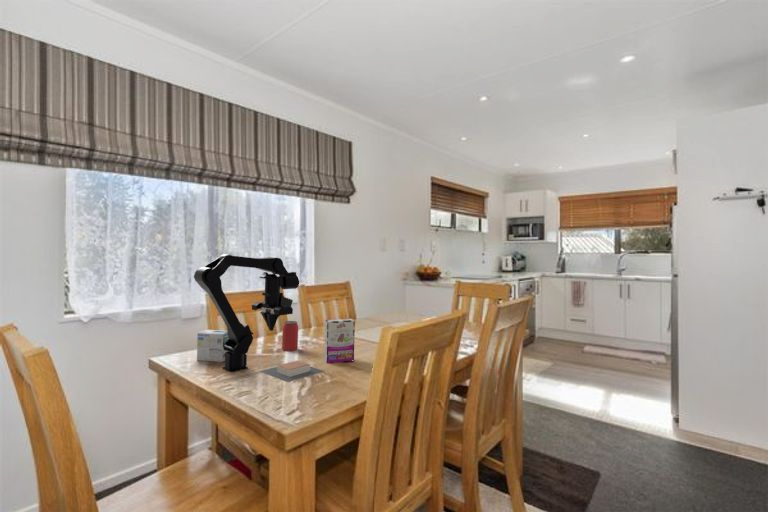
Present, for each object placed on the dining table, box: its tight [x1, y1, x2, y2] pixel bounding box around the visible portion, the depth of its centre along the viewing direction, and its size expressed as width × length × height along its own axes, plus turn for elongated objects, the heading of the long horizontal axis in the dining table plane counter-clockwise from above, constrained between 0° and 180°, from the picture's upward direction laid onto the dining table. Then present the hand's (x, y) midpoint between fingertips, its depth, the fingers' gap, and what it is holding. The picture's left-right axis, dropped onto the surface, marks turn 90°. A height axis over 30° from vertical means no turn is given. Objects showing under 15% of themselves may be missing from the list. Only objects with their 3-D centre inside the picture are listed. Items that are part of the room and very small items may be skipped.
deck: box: [276, 359, 311, 377], centre depth 134 cm, size 9×2×7 cm
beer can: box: [281, 320, 299, 352], centre depth 164 cm, size 7×7×12 cm
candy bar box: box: [323, 318, 356, 364], centre depth 150 cm, size 11×5×16 cm, turn 112°
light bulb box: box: [196, 329, 229, 363], centre depth 147 cm, size 11×7×11 cm, turn 84°
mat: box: [259, 366, 325, 383], centre depth 135 cm, size 16×16×1 cm
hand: (271, 330), depth 146 cm, fingers closed
